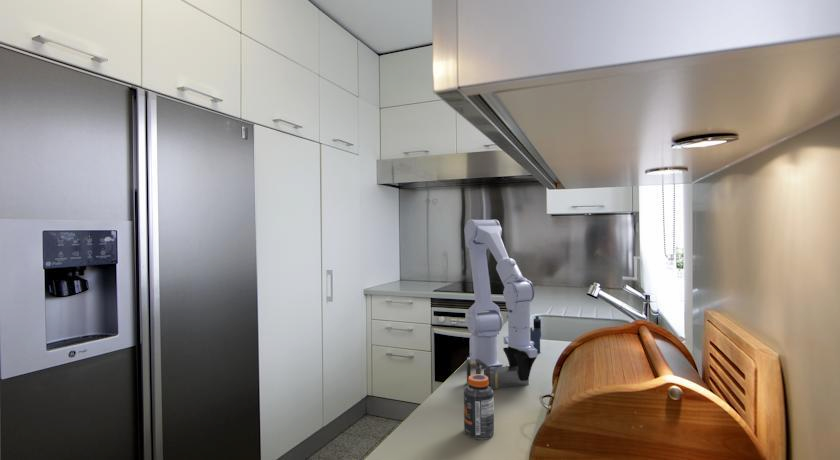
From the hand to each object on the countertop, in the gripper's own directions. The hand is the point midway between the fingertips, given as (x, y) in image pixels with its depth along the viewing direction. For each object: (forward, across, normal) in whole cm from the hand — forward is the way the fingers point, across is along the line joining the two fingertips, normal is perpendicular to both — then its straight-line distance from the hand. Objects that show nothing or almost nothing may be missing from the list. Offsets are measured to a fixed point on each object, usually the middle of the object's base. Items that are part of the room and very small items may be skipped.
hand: (519, 377), depth 113 cm
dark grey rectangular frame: (+1, 0, +13) cm, 13 cm away
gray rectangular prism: (+1, 0, +4) cm, 4 cm away
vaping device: (+2, +24, -18) cm, 30 cm away
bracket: (+1, 0, +11) cm, 11 cm away
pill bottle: (+2, -23, +22) cm, 32 cm away
